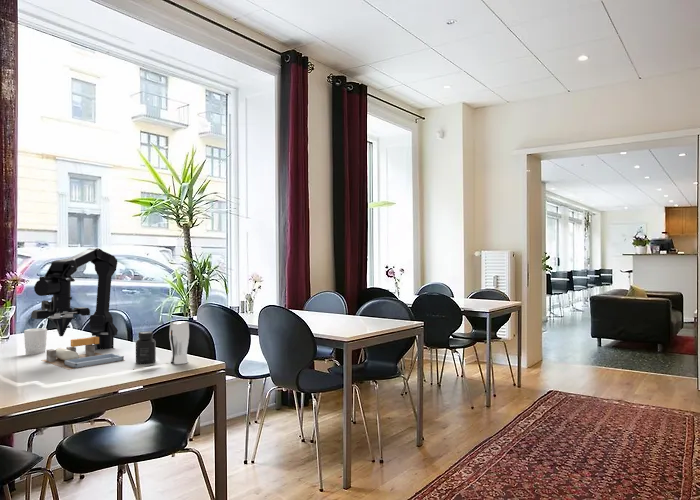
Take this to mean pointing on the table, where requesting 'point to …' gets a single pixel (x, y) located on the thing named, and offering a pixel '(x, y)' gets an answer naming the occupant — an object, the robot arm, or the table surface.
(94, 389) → the table surface
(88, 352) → the board
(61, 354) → the off-white cylinder
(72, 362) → the tray
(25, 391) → the table surface
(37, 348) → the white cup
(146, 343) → the supplement bottle
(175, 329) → the beer glass
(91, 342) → the tie bar
